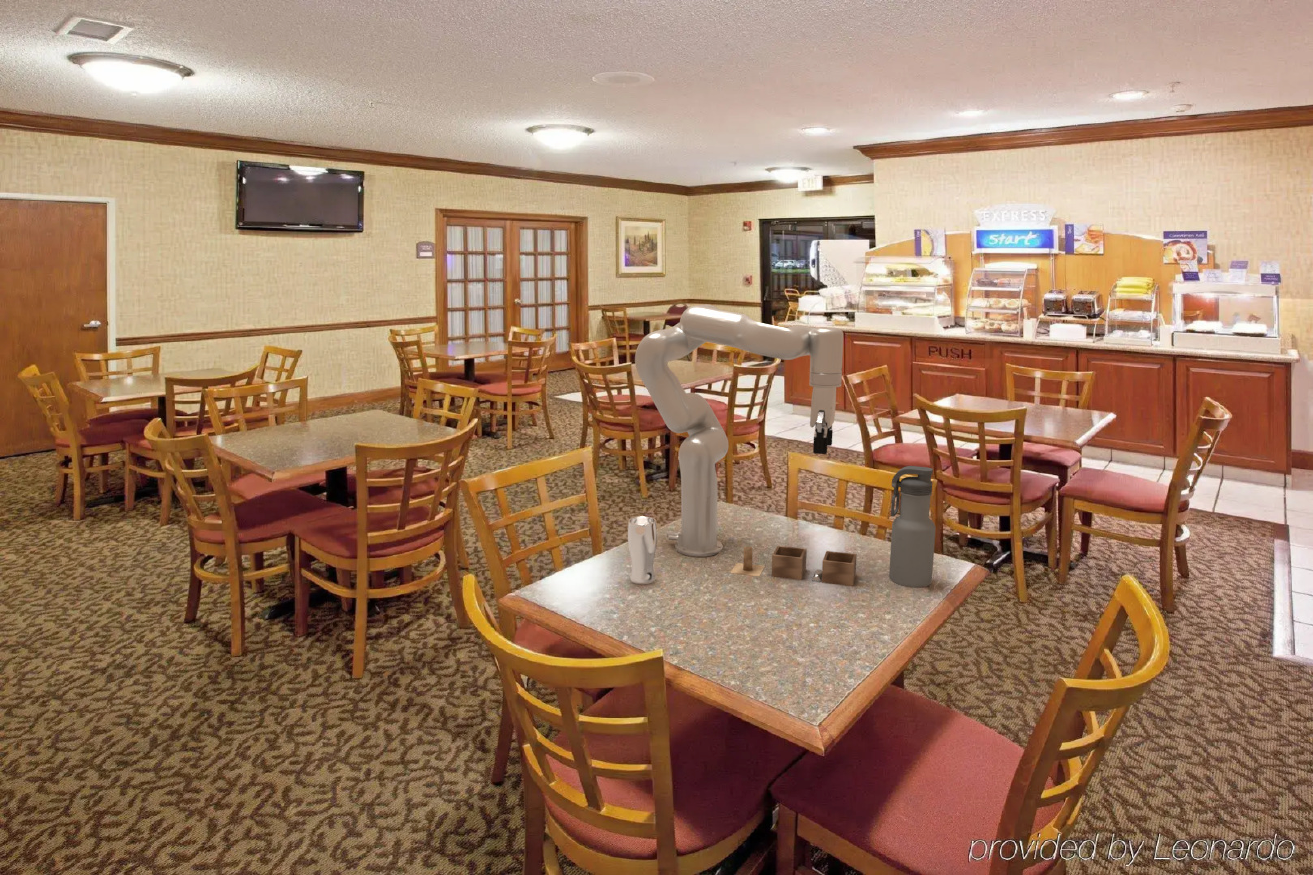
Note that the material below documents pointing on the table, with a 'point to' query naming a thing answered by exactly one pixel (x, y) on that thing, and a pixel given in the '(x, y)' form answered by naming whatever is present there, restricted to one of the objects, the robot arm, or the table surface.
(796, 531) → the table surface
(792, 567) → the brown open box
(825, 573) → the brown square open-topped box
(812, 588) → the table surface
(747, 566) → the lid
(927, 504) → the water bottle
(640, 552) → the beer glass
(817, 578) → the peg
